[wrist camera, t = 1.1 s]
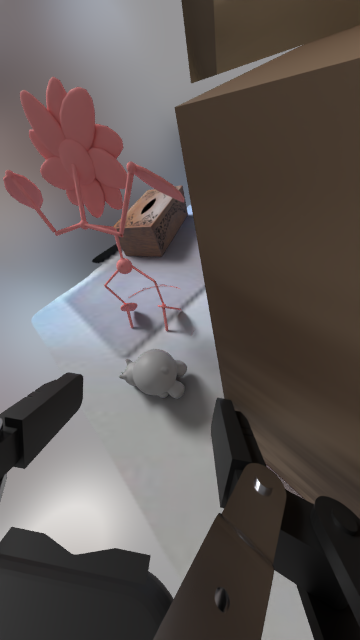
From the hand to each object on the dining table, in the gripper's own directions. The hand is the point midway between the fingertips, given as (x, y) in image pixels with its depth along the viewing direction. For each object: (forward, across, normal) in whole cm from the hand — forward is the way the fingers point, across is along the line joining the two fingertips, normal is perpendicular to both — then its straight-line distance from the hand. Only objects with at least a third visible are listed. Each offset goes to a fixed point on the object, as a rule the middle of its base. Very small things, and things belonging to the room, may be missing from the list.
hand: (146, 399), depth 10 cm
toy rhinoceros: (+22, +2, +12) cm, 25 cm away
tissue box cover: (+62, +14, -22) cm, 68 cm away
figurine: (+36, +6, 0) cm, 36 cm away
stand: (+13, -18, +12) cm, 26 cm away
